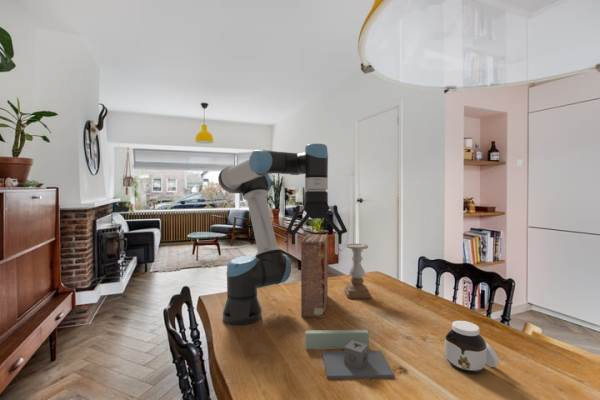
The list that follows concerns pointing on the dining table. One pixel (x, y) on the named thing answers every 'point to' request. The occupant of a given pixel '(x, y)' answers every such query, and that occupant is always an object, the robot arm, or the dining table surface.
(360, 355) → the dice cube
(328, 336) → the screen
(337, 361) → the mat
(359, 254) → the candle holder
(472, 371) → the spread jar
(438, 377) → the dining table surface
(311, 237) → the book
